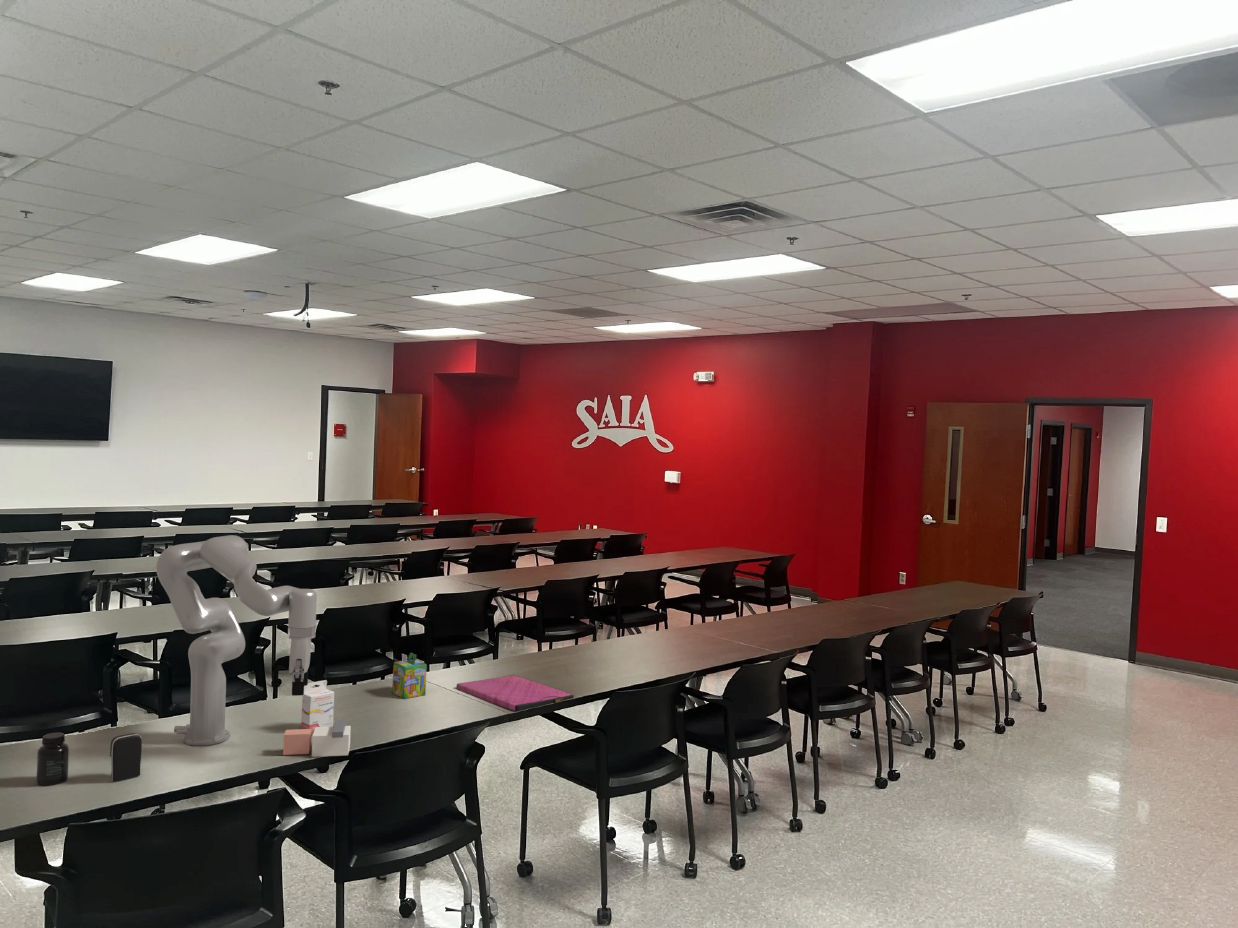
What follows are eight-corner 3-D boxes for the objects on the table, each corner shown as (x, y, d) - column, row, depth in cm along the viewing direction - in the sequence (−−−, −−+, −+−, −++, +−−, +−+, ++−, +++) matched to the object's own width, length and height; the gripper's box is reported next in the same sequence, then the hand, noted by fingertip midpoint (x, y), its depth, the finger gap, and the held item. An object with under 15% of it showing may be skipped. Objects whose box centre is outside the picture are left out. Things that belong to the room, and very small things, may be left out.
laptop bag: (455, 679, 317) (512, 669, 337) (455, 690, 317) (512, 679, 336) (523, 703, 289) (581, 691, 308) (522, 715, 289) (580, 702, 308)
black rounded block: (136, 772, 228) (138, 730, 228) (141, 776, 225) (142, 733, 225) (107, 778, 223) (108, 735, 223) (112, 783, 220) (113, 739, 220)
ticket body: (308, 759, 242) (309, 733, 242) (313, 744, 253) (314, 719, 253) (347, 757, 244) (348, 731, 244) (350, 743, 256) (351, 718, 256)
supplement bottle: (37, 778, 221) (38, 733, 221) (68, 774, 225) (69, 729, 224) (35, 788, 215) (36, 741, 215) (67, 783, 219) (68, 737, 219)
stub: (283, 754, 244) (283, 734, 243) (285, 749, 248) (286, 729, 248) (308, 753, 245) (309, 733, 245) (310, 748, 250) (311, 728, 250)
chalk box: (391, 693, 308) (392, 652, 308) (414, 689, 314) (415, 649, 314) (403, 699, 301) (404, 658, 301) (426, 695, 307) (427, 654, 307)
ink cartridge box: (309, 734, 262) (310, 687, 262) (300, 730, 265) (302, 684, 265) (333, 728, 269) (335, 682, 268) (325, 724, 272) (326, 678, 271)
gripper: (292, 625, 254) (290, 682, 254) (283, 638, 237) (281, 699, 237) (318, 625, 255) (316, 681, 256) (312, 638, 239) (310, 698, 239)
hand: (299, 690), depth 246 cm, fingers open, 9 cm apart
